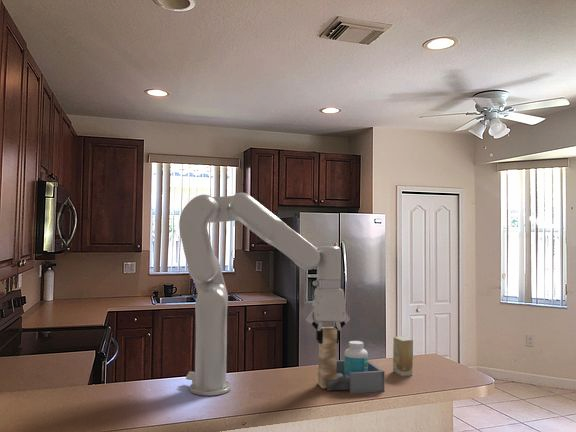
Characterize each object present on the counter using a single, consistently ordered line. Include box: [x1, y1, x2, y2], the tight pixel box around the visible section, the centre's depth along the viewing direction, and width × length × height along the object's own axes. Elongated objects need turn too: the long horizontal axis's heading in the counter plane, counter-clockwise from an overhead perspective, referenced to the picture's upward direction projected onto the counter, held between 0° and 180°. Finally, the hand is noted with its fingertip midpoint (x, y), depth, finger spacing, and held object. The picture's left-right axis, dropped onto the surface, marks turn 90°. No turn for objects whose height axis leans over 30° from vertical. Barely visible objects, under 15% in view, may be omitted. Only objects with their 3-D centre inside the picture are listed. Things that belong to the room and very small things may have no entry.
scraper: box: [317, 326, 349, 392], centre depth 149 cm, size 8×9×18 cm
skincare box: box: [392, 335, 414, 377], centre depth 163 cm, size 6×4×12 cm
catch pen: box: [336, 359, 385, 394], centre depth 150 cm, size 11×15×6 cm
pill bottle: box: [344, 340, 369, 380], centre depth 151 cm, size 8×7×14 cm
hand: (327, 342), depth 149 cm, fingers closed on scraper, 4 cm apart
